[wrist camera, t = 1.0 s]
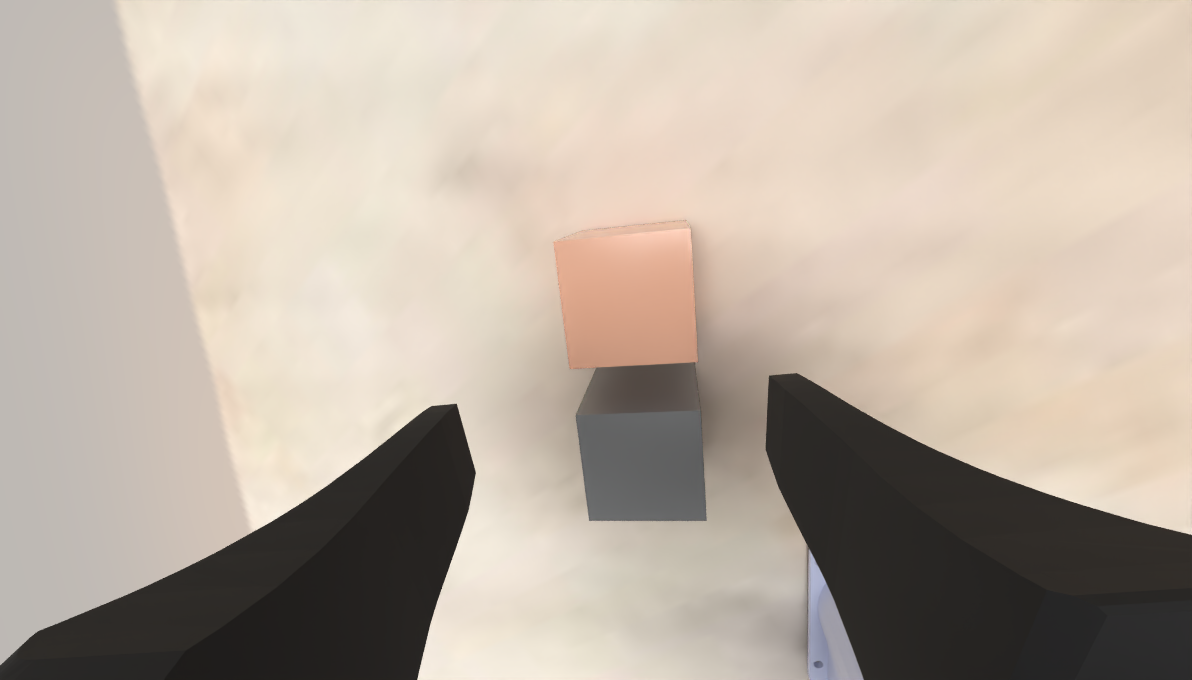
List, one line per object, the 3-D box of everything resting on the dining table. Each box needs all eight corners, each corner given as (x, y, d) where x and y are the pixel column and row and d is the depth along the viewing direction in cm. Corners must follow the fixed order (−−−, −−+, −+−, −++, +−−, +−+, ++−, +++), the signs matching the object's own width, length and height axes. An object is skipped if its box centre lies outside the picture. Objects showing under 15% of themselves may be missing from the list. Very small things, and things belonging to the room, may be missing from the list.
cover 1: (691, 323, 24) (697, 362, 19) (593, 329, 25) (569, 368, 20) (686, 220, 23) (690, 228, 17) (582, 230, 24) (553, 241, 18)
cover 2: (699, 450, 26) (706, 520, 21) (606, 452, 27) (589, 520, 21) (694, 361, 25) (700, 410, 19) (597, 366, 26) (575, 415, 20)
